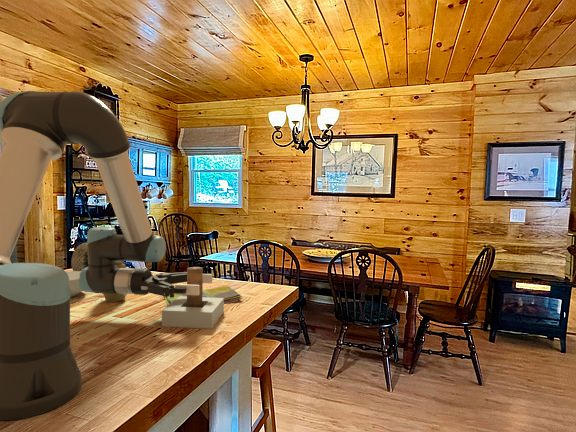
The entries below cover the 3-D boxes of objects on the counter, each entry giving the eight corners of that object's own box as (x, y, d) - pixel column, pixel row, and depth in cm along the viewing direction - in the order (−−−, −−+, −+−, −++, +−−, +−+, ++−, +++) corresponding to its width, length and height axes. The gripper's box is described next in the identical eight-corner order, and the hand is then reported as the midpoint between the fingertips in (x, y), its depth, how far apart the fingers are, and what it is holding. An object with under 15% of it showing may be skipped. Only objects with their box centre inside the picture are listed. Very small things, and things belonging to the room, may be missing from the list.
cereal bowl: (101, 290, 137) (101, 271, 136) (70, 303, 120) (70, 282, 120) (58, 288, 138) (58, 269, 138) (22, 300, 122) (22, 279, 121)
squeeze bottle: (118, 304, 120) (118, 249, 119) (96, 302, 122) (96, 248, 121) (133, 297, 128) (133, 246, 127) (112, 295, 130) (112, 245, 129)
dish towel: (163, 296, 132) (163, 289, 132) (229, 290, 143) (229, 283, 142) (169, 311, 117) (169, 302, 116) (243, 303, 127) (243, 295, 126)
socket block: (211, 328, 101) (212, 312, 101) (161, 326, 102) (161, 310, 102) (223, 312, 115) (223, 298, 115) (179, 310, 116) (179, 296, 116)
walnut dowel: (199, 321, 106) (200, 270, 105) (184, 321, 106) (185, 269, 106) (204, 316, 111) (204, 267, 110) (189, 316, 111) (189, 266, 110)
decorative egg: (71, 282, 147) (70, 245, 146) (71, 276, 157) (71, 241, 156) (103, 279, 152) (103, 243, 151) (102, 274, 163) (102, 240, 162)
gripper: (152, 283, 122) (216, 286, 120) (112, 306, 97) (192, 310, 95) (152, 261, 121) (216, 263, 120) (112, 278, 96) (192, 281, 95)
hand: (206, 284), depth 108 cm, fingers open, 13 cm apart
